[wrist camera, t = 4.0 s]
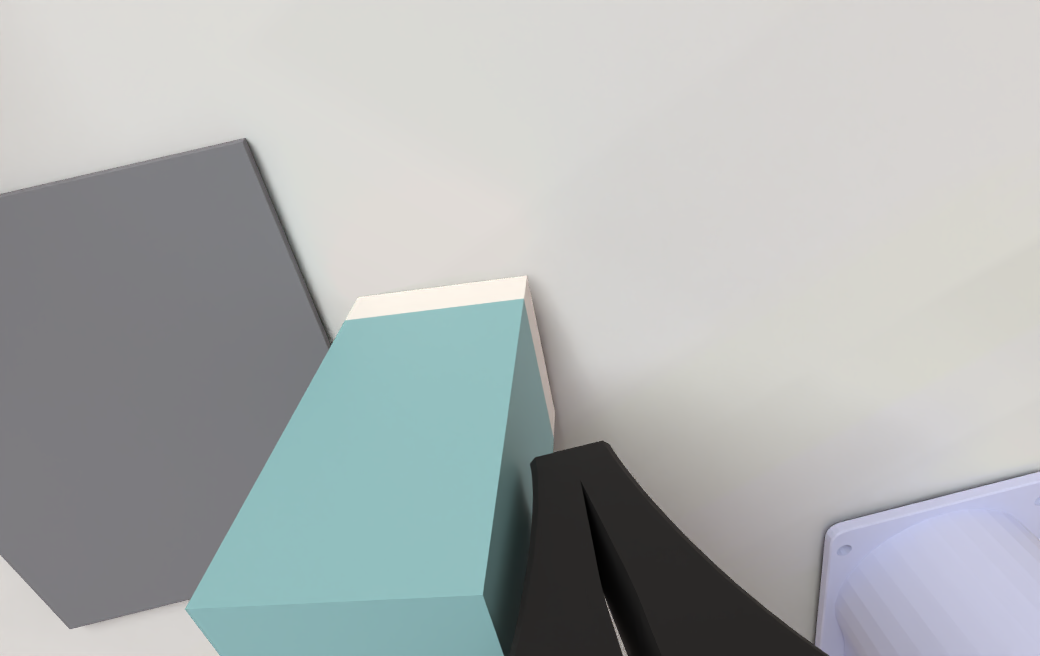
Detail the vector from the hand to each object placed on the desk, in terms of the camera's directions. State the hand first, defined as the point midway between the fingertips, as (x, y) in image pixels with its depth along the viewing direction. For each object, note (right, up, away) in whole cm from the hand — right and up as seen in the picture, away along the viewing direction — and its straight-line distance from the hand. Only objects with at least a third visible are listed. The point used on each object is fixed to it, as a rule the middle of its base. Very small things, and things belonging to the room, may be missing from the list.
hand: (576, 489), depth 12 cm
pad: (-10, 0, +4) cm, 11 cm away
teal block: (-2, +2, +4) cm, 5 cm away
